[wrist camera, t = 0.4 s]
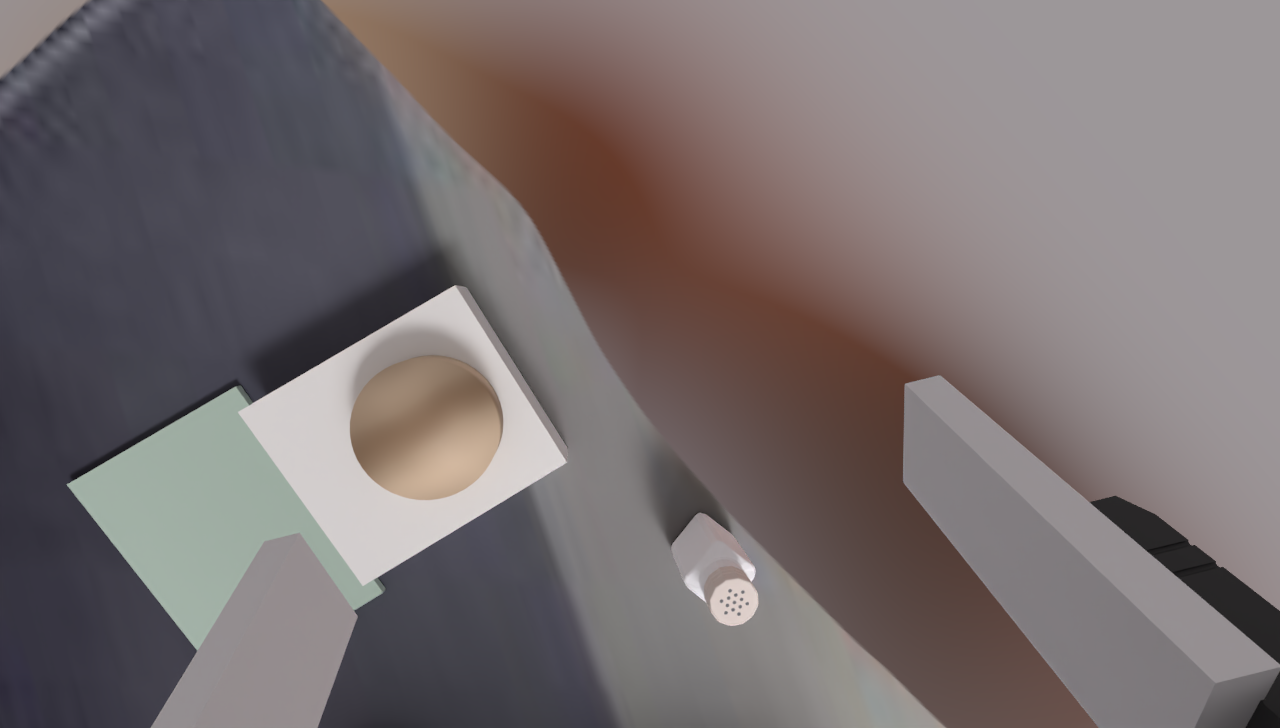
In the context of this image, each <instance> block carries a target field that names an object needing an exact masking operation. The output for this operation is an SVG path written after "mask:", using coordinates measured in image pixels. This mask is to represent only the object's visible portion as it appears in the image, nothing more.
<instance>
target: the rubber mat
mask: <svg viewBox="0 0 1280 728" xmlns="http://www.w3.org/2000/svg"><path fill="white" fill-rule="evenodd" d="M252 403H253V402H252V400H251V399H250V398H249V396H248V395H247V393H246V392H245V391H244V389H243V388H242V386H241V385H240V386H236V387H234V388H232V389H230V390H229V391H227V392H225V393H224V394H222V395H220V396H218V397H217V398H215V399H213V400H211V401H210V402H208V403H206V404H205V405H203V406H201V407H199V408H198V409H196V410H194V411H193V412H191V413H189V414H187V415H186V416H184V417H182V418H181V419H179V420H177V421H175V422H174V423H172V424H170V425H168V426H167V427H165V428H163V429H162V430H160V431H158V432H156V433H155V434H153V435H151V436H150V437H148V438H146V439H144V440H143V441H141V442H139V443H138V444H136V445H134V446H132V447H131V448H129V449H127V450H126V451H124V452H122V453H120V454H119V455H117V456H115V457H113V458H112V459H110V460H108V461H107V462H105V463H103V464H101V465H100V466H98V467H96V468H95V469H93V470H91V471H89V472H88V473H86V474H84V475H83V476H81V477H79V478H77V479H76V480H74V481H72V482H70V483H69V484H67V486H68V487H69V488H70V489H71V491H72V492H73V493H74V494H75V496H76V497H77V498H78V500H79V501H80V502H81V503H82V505H83V506H84V507H85V508H86V510H87V511H88V512H89V514H90V515H91V516H92V517H93V519H94V520H95V521H96V522H97V524H98V525H99V526H100V528H101V529H102V530H103V531H104V533H105V534H106V535H107V536H108V538H109V539H110V540H111V542H112V543H113V544H114V545H115V547H116V548H117V549H118V550H119V552H120V553H121V554H122V556H123V557H124V558H125V559H126V561H127V562H128V563H129V564H130V566H131V567H132V568H133V570H134V571H135V572H136V573H137V575H138V576H139V577H140V578H141V580H142V581H143V582H144V584H145V585H146V586H147V587H148V589H149V590H150V591H151V592H152V594H153V595H154V596H155V598H156V599H157V600H158V601H159V603H160V604H161V605H162V606H163V608H164V609H165V610H166V611H167V613H168V614H169V615H170V617H171V618H172V619H173V620H174V622H175V623H176V624H177V625H178V627H179V628H180V629H181V631H182V632H183V633H184V634H185V636H186V637H187V638H188V639H189V641H190V642H191V643H192V645H193V646H194V647H195V648H196V650H197V651H198V649H199V648H200V646H201V644H202V643H203V641H204V640H205V638H206V636H207V635H208V633H209V631H210V630H211V628H212V626H213V625H214V623H215V621H216V620H217V618H218V617H219V615H220V613H221V612H222V610H223V608H224V607H225V605H226V603H227V602H228V600H229V598H230V597H231V595H232V594H233V592H234V590H235V589H236V587H237V585H238V584H239V582H240V580H241V579H242V577H243V575H244V574H245V572H246V571H247V569H248V567H249V566H250V564H251V562H252V561H253V559H254V557H255V556H256V554H257V552H258V551H259V549H260V548H261V546H262V544H263V543H264V541H268V540H272V539H276V538H280V537H284V536H288V535H292V534H296V533H300V534H301V535H302V537H303V538H304V540H305V541H306V543H307V544H308V545H309V547H310V548H311V550H312V551H313V553H314V554H315V556H316V557H317V558H318V560H319V561H320V563H321V564H322V566H323V567H324V569H325V570H326V571H327V573H328V574H329V576H330V577H331V579H332V580H333V581H334V583H335V584H336V586H337V587H338V589H339V590H340V592H341V593H342V594H343V596H344V597H345V599H346V600H347V602H348V603H349V605H350V606H351V607H352V609H353V610H356V609H357V608H359V607H361V606H362V605H364V604H366V603H367V602H369V601H371V600H372V599H374V598H376V597H377V596H379V595H380V594H382V593H383V592H384V591H385V587H384V586H383V584H382V583H381V582H380V580H379V579H378V577H377V578H375V579H374V580H372V581H371V582H369V583H367V584H366V585H364V586H362V584H361V583H360V582H359V580H358V579H357V577H356V576H355V575H354V573H353V572H352V570H351V569H350V568H349V566H348V565H347V563H346V562H345V561H344V559H343V558H342V556H341V555H340V554H339V552H338V551H337V550H336V548H335V547H334V545H333V544H332V543H331V541H330V540H329V538H328V537H327V536H326V534H325V533H324V531H323V530H322V529H321V527H320V526H319V524H318V523H317V522H316V520H315V519H314V518H313V516H312V515H311V513H310V512H309V511H308V509H307V508H306V506H305V505H304V504H303V502H302V501H301V499H300V498H299V497H298V495H297V494H296V493H295V491H294V490H293V488H292V487H291V486H290V484H289V483H288V481H287V480H286V479H285V477H284V476H283V474H282V473H281V472H280V470H279V469H278V467H277V466H276V465H275V463H274V462H273V461H272V459H271V458H270V456H269V455H268V454H267V452H266V451H265V449H264V448H263V447H262V445H261V444H260V442H259V441H258V440H257V438H256V437H255V435H254V434H253V433H252V431H251V430H250V429H249V427H248V426H247V424H246V423H245V422H244V420H243V419H242V417H241V416H240V415H239V413H238V412H239V411H240V410H242V409H244V408H246V407H247V406H249V405H251V404H252Z"/></svg>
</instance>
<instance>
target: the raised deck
mask: <svg viewBox="0 0 1280 728" xmlns="http://www.w3.org/2000/svg"><path fill="white" fill-rule="evenodd" d="M428 355H438V356H446V357H451V358H454V359H457V360H460V361H462V362H464V363H467V364H468V365H470V366H472V367H473V368H475V369H476V370H477V371H478V372H480V373H481V374H482V375H483V376H484V377H485V378H486V379H487V380H488V381H489V383H490V384H491V385H492V387H493V388H494V390H495V392H496V394H497V396H498V398H499V401H500V404H501V408H502V412H503V432H502V438H501V441H500V444H499V447H498V449H497V451H496V453H495V455H494V457H493V459H492V461H491V463H490V464H489V466H488V467H487V469H486V471H485V472H484V473H483V474H482V475H481V476H480V478H479V479H477V480H476V481H475V482H474V483H473V484H472V485H470V486H469V487H467V488H466V489H464V490H462V491H460V492H459V493H457V494H454V495H451V496H449V497H445V498H441V499H434V500H416V499H409V498H405V497H402V496H399V495H396V494H394V493H391V492H389V491H388V490H386V489H384V488H382V487H381V486H380V485H378V484H377V483H376V482H374V481H373V480H372V479H371V478H370V477H369V476H368V475H367V473H366V472H365V471H364V470H363V468H362V467H361V465H360V464H359V462H358V460H357V458H356V456H355V453H354V451H353V447H352V444H351V438H350V419H351V413H352V410H353V406H354V404H355V401H356V399H357V397H358V395H359V394H360V392H361V391H362V389H363V388H364V386H365V385H366V384H367V383H368V382H369V381H370V380H371V379H372V378H373V377H374V376H375V375H376V374H378V373H379V372H381V371H382V370H384V369H385V368H387V367H389V366H391V365H393V364H396V363H399V362H402V361H405V360H408V359H411V358H415V357H420V356H428ZM238 413H239V415H240V416H241V417H242V419H243V420H244V422H245V423H246V424H247V426H248V427H249V429H250V430H251V431H252V433H253V434H254V435H255V437H256V438H257V440H258V441H259V442H260V444H261V445H262V447H263V448H264V449H265V451H266V452H267V454H268V455H269V456H270V458H271V459H272V461H273V462H274V463H275V465H276V466H277V467H278V469H279V470H280V472H281V473H282V474H283V476H284V477H285V479H286V480H287V481H288V483H289V484H290V486H291V487H292V488H293V490H294V491H295V493H296V494H297V495H298V497H299V498H300V499H301V501H302V502H303V504H304V505H305V506H306V508H307V509H308V511H309V512H310V513H311V515H312V516H313V518H314V519H315V520H316V522H317V523H318V524H319V526H320V527H321V529H322V530H323V531H324V533H325V534H326V536H327V537H328V538H329V540H330V541H331V543H332V544H333V545H334V547H335V548H336V550H337V551H338V552H339V554H340V555H341V556H342V558H343V559H344V561H345V562H346V563H347V565H348V566H349V568H350V569H351V570H352V572H353V573H354V575H355V576H356V577H357V579H358V580H359V582H360V583H361V584H362V586H364V585H366V584H367V583H369V582H371V581H372V580H374V579H375V578H377V577H379V576H380V575H382V574H384V573H385V572H387V571H389V570H390V569H392V568H394V567H395V566H397V565H399V564H400V563H402V562H404V561H405V560H407V559H409V558H410V557H412V556H413V555H415V554H417V553H418V552H420V551H422V550H423V549H425V548H427V547H428V546H430V545H432V544H433V543H435V542H437V541H438V540H440V539H442V538H443V537H445V536H446V535H448V534H450V533H451V532H453V531H455V530H456V529H458V528H460V527H461V526H463V525H465V524H466V523H468V522H470V521H471V520H473V519H475V518H476V517H478V516H480V515H481V514H483V513H484V512H486V511H488V510H489V509H491V508H493V507H494V506H496V505H498V504H499V503H501V502H503V501H504V500H506V499H508V498H509V497H511V496H513V495H514V494H516V493H517V492H519V491H521V490H522V489H524V488H526V487H527V486H529V485H531V484H532V483H534V482H536V481H537V480H539V479H541V478H542V477H544V476H546V475H547V474H549V473H550V472H552V471H554V470H555V469H557V468H559V467H560V466H562V465H564V464H565V463H567V453H568V448H567V446H566V445H565V443H564V442H563V440H562V438H561V437H560V435H559V434H558V432H557V430H556V429H555V427H554V426H553V424H552V422H551V421H550V419H549V418H548V416H547V415H546V413H545V411H544V410H543V408H542V407H541V405H540V403H539V402H538V400H537V399H536V397H535V395H534V394H533V392H532V391H531V389H530V387H529V386H528V384H527V383H526V381H525V380H524V378H523V376H522V375H521V373H520V372H519V370H518V368H517V367H516V365H515V364H514V362H513V360H512V359H511V357H510V356H509V354H508V352H507V351H506V349H505V348H504V346H503V345H502V343H501V341H500V340H499V338H498V337H497V335H496V333H495V332H494V330H493V329H492V327H491V325H490V324H489V322H488V321H487V319H486V317H485V316H484V314H483V313H482V311H481V310H480V308H479V306H478V305H477V303H476V302H475V300H474V298H473V297H472V295H471V294H470V292H469V290H468V289H467V287H463V286H457V285H454V286H453V287H451V288H449V289H448V290H446V291H444V292H443V293H441V294H439V295H437V296H436V297H434V298H432V299H431V300H429V301H427V302H425V303H424V304H422V305H420V306H419V307H417V308H415V309H413V310H412V311H410V312H408V313H407V314H405V315H403V316H401V317H400V318H398V319H396V320H395V321H393V322H391V323H389V324H388V325H386V326H384V327H383V328H381V329H379V330H377V331H376V332H374V333H372V334H371V335H369V336H367V337H365V338H364V339H362V340H360V341H359V342H357V343H355V344H353V345H352V346H350V347H348V348H347V349H345V350H343V351H341V352H340V353H338V354H336V355H335V356H333V357H331V358H329V359H328V360H326V361H324V362H323V363H321V364H319V365H318V366H316V367H314V368H312V369H311V370H309V371H307V372H306V373H304V374H302V375H300V376H299V377H297V378H295V379H294V380H292V381H290V382H288V383H287V384H285V385H283V386H282V387H280V388H278V389H276V390H275V391H273V392H271V393H270V394H268V395H266V396H264V397H263V398H261V399H259V400H258V401H256V402H254V403H252V404H251V405H249V406H247V407H246V408H244V409H242V410H240V411H239V412H238Z"/></svg>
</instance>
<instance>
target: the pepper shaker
mask: <svg viewBox="0 0 1280 728" xmlns="http://www.w3.org/2000/svg"><path fill="white" fill-rule="evenodd" d="M671 551H672V554H673V556H674V559H675V561H676V564H677V566H678V569H679V571H680V574H681V576H682V579H683V581H684V583H685V585H686V587H687V588H689V589H690V590H691V591H692V592H693V593H695V594H696V595H697V596H698V597H700V598H701V599H702V600H704V601H705V602H706V603H707V605H708V607H709V609H710V612H711V613H712V614H713V616H714V617H715V618H716V620H717V621H718V622H720V623H723V624H726V625H728V626H734V625H740V624H743V623H745V622H746V621H747V620H749V619H750V618H751V617H753V615H754V613H755V611H756V609H757V607H758V592H757V590H756V589H755V587H754V586H753V584H752V580H753V579H754V576H755V571H756V569H755V567H754V565H753V564H752V562H751V561H750V559H749V558H748V556H747V555H746V553H745V552H744V551H743V549H742V548H741V546H740V545H739V543H738V542H737V540H736V539H735V537H734V536H733V535H732V534H731V533H730V532H728V531H727V530H726V529H724V528H723V527H722V526H721V525H719V524H718V523H717V522H715V521H714V520H713V519H711V518H710V517H709V516H708V515H706V514H703V513H698V514H697V515H695V516H694V518H693V519H692V520H691V521H690V523H689V524H688V525H687V526H686V528H685V529H684V530H683V531H682V532H681V534H680V535H679V536H678V537H677V539H676V540H675V541H674V542H673V544H672V547H671Z"/></svg>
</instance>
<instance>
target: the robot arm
mask: <svg viewBox="0 0 1280 728" xmlns="http://www.w3.org/2000/svg"><path fill="white" fill-rule="evenodd" d="M904 403H905V404H904V455H903V483H904V484H905V485H906V486H907V487H908V489H909V490H910V491H911V493H912V494H913V495H914V496H915V498H916V499H917V500H918V501H919V502H920V504H921V505H922V506H923V508H924V509H925V510H926V511H927V513H928V514H929V515H930V516H931V518H932V519H933V520H934V521H935V523H936V524H937V525H938V527H939V528H940V529H941V530H942V531H943V533H944V534H945V535H946V537H947V538H948V539H949V540H950V541H951V543H952V544H953V545H954V547H955V548H956V549H957V550H958V552H959V553H960V554H961V555H962V557H963V558H964V559H965V560H966V561H967V563H968V564H969V565H970V567H971V568H972V569H973V570H974V572H975V573H976V574H977V575H978V577H979V578H980V579H981V580H982V582H983V583H984V584H985V586H986V587H987V588H988V589H989V591H990V592H991V593H992V594H993V596H994V597H995V598H996V599H997V600H998V602H999V603H1000V604H1001V606H1002V607H1003V608H1004V609H1005V611H1006V612H1007V613H1008V614H1009V616H1010V617H1011V618H1012V619H1013V621H1014V622H1015V623H1016V624H1017V626H1018V627H1019V628H1020V629H1021V631H1022V632H1023V633H1024V634H1025V636H1026V637H1027V638H1028V639H1029V641H1030V642H1031V643H1032V644H1033V646H1034V647H1035V648H1036V649H1037V651H1038V652H1039V653H1040V655H1041V656H1042V657H1043V658H1044V660H1045V661H1046V662H1047V663H1048V665H1049V666H1050V667H1051V668H1052V669H1053V671H1054V672H1055V673H1056V675H1057V676H1058V677H1059V678H1060V680H1061V681H1062V682H1063V683H1064V685H1065V686H1066V687H1067V688H1068V690H1069V691H1070V692H1071V693H1072V695H1073V696H1074V697H1075V698H1076V700H1077V701H1078V702H1079V703H1080V705H1081V706H1082V707H1083V709H1084V710H1085V711H1086V712H1087V714H1088V715H1089V716H1090V717H1091V719H1092V720H1093V721H1094V722H1095V723H1096V725H1097V726H1098V727H1099V728H1280V611H1279V610H1278V609H1276V608H1275V607H1274V606H1273V605H1271V604H1270V603H1269V602H1267V601H1266V600H1265V599H1263V598H1262V597H1261V596H1260V595H1258V594H1257V593H1256V592H1254V591H1253V590H1252V589H1251V588H1249V587H1248V586H1247V585H1245V584H1244V583H1243V582H1242V581H1240V580H1239V579H1238V578H1236V577H1235V576H1234V575H1233V574H1231V573H1230V572H1229V571H1227V570H1226V569H1225V568H1224V567H1221V568H1220V567H1218V566H1217V565H1216V561H1215V560H1213V559H1212V558H1211V557H1209V556H1208V555H1207V554H1205V553H1204V552H1203V551H1202V550H1200V549H1199V548H1198V547H1197V546H1195V545H1193V546H1191V545H1190V544H1189V542H1188V540H1187V539H1186V538H1185V537H1184V536H1182V535H1181V534H1180V533H1179V532H1177V531H1176V530H1175V529H1173V528H1172V527H1171V526H1170V525H1168V524H1167V523H1166V522H1164V521H1163V520H1162V519H1161V518H1159V517H1158V516H1157V515H1155V514H1153V513H1151V512H1149V511H1147V510H1145V509H1142V508H1140V507H1138V506H1136V505H1134V504H1132V503H1130V502H1127V501H1125V500H1123V499H1121V498H1119V497H1117V496H1113V497H1109V498H1105V499H1101V500H1097V501H1093V502H1088V501H1087V500H1086V499H1085V498H1084V497H1082V496H1081V495H1080V494H1079V493H1077V491H1075V490H1074V489H1073V488H1072V487H1071V486H1070V485H1068V484H1067V483H1066V482H1065V481H1063V480H1062V479H1061V478H1060V477H1059V476H1058V475H1057V474H1055V473H1054V472H1053V471H1052V470H1051V469H1050V468H1048V467H1047V466H1046V465H1045V464H1044V463H1042V462H1041V461H1040V460H1039V459H1038V458H1037V457H1035V456H1034V455H1033V454H1032V453H1031V452H1030V451H1028V450H1027V449H1026V448H1025V447H1024V446H1023V445H1021V444H1020V443H1019V442H1018V441H1017V440H1015V439H1014V438H1013V437H1012V436H1011V435H1010V434H1008V433H1007V432H1006V431H1005V430H1004V429H1003V428H1001V427H1000V426H999V425H998V424H997V423H995V422H994V421H993V420H992V419H991V418H990V417H988V416H987V415H986V414H985V413H984V412H982V411H981V410H980V409H979V408H978V407H976V406H975V405H974V404H973V403H972V402H971V401H970V400H968V399H967V398H966V397H965V396H964V395H962V394H961V393H960V392H959V391H958V390H957V389H956V388H954V387H953V386H952V385H950V383H948V382H947V381H946V380H945V379H944V378H943V377H941V376H940V375H939V376H935V377H931V378H927V379H923V380H919V381H915V382H911V383H907V384H905V402H904ZM357 617H358V616H357V615H356V613H355V612H354V610H353V609H352V607H351V606H350V605H349V603H348V602H347V600H346V599H345V597H344V596H343V594H342V593H341V592H340V590H339V589H338V587H337V586H336V584H335V583H334V581H333V580H332V579H331V577H330V576H329V574H328V573H327V571H326V570H325V569H324V567H323V566H322V564H321V563H320V561H319V560H318V558H317V557H316V556H315V554H314V553H313V551H312V550H311V548H310V547H309V545H308V544H307V543H306V541H305V540H304V538H303V537H302V535H301V534H300V533H296V534H292V535H288V536H284V537H280V538H276V539H272V540H268V541H264V543H263V544H262V546H261V548H260V549H259V551H258V552H257V554H256V556H255V557H254V559H253V561H252V562H251V564H250V566H249V567H248V569H247V571H246V572H245V574H244V575H243V577H242V579H241V580H240V582H239V584H238V585H237V587H236V589H235V590H234V592H233V594H232V595H231V597H230V598H229V600H228V602H227V603H226V605H225V607H224V608H223V610H222V612H221V613H220V615H219V617H218V618H217V620H216V621H215V623H214V625H213V626H212V628H211V630H210V631H209V633H208V635H207V636H206V638H205V640H204V641H203V643H202V644H201V646H200V648H199V649H198V651H197V653H196V654H195V656H194V658H193V659H192V661H191V663H190V664H189V666H188V667H187V669H186V671H185V672H184V674H183V676H182V677H181V679H180V681H179V682H178V684H177V686H176V687H175V689H174V690H173V692H172V694H171V695H170V697H169V699H168V700H167V702H166V704H165V705H164V707H163V709H162V710H161V712H160V713H159V715H158V717H157V718H156V720H155V722H154V723H153V725H152V727H151V728H318V725H319V722H320V719H321V717H322V714H323V711H324V708H325V706H326V703H327V700H328V697H329V695H330V692H331V689H332V686H333V683H334V681H335V678H336V675H337V672H338V670H339V667H340V664H341V661H342V659H343V656H344V653H345V650H346V648H347V645H348V642H349V639H350V636H351V634H352V631H353V628H354V625H355V623H356V620H357Z"/></svg>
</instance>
